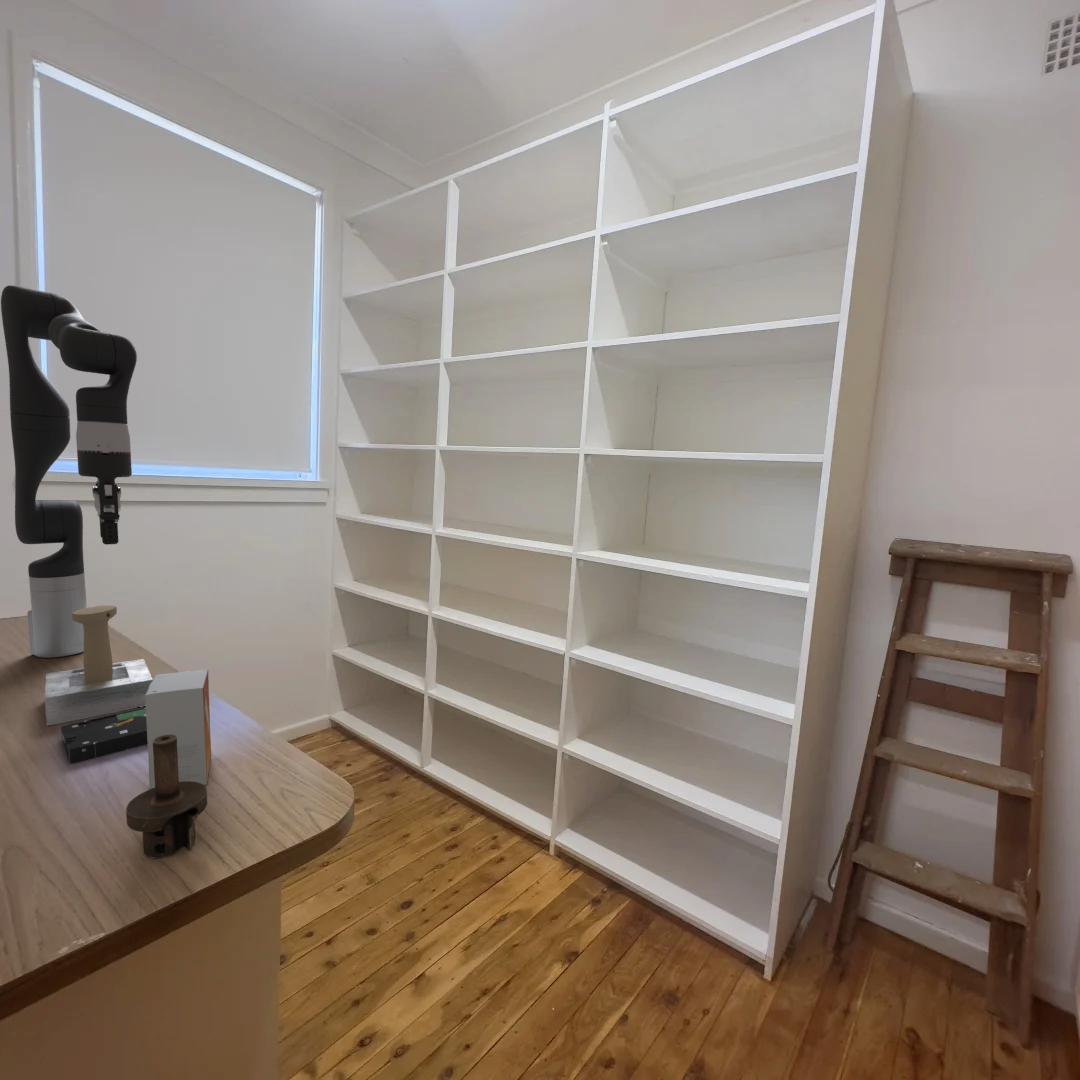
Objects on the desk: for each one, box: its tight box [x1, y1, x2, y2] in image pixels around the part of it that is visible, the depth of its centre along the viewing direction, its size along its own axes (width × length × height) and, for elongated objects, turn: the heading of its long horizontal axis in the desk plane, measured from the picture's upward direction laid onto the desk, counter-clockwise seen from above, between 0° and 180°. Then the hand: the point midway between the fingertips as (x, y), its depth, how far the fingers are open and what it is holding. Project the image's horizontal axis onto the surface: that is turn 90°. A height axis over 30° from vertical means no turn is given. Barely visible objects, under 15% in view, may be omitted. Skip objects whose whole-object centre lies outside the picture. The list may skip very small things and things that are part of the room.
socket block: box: [44, 658, 154, 727], centre depth 99 cm, size 14×14×5 cm
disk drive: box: [60, 707, 148, 765], centre depth 87 cm, size 10×3×15 cm
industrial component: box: [125, 734, 208, 859], centre depth 62 cm, size 9×7×12 cm
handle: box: [72, 605, 118, 685], centre depth 98 cm, size 5×6×15 cm
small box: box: [145, 669, 212, 790], centre depth 75 cm, size 8×6×13 cm
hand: (109, 541), depth 103 cm, fingers open, 8 cm apart
